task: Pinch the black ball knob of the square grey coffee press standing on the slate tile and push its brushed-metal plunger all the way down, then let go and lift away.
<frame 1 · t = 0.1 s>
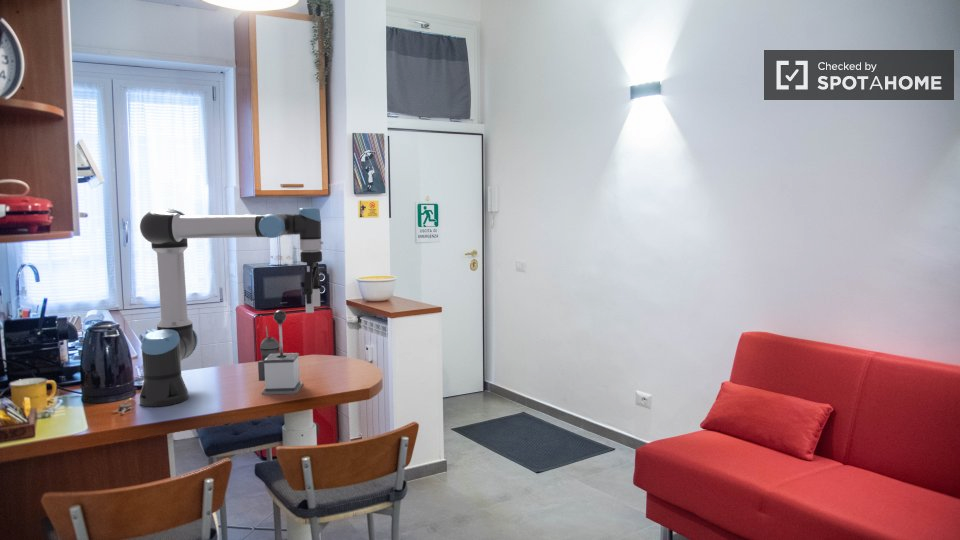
hand: (313, 309, 248), 28 cm above the table, fingers open, 13 cm apart
beverage cup: (271, 378, 262), on the table
press carafe: (283, 389, 246), on the table
plunger: (280, 337, 243), point 19 cm above the table, slide at 0.0 cm
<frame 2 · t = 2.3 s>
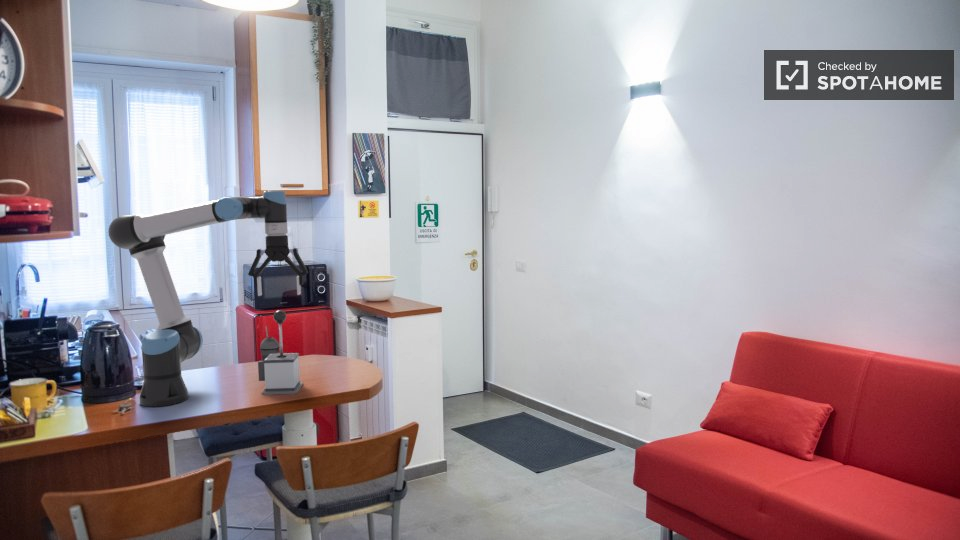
hand: (279, 295, 242), 34 cm above the table, fingers open, 13 cm apart
nothing on the table moved.
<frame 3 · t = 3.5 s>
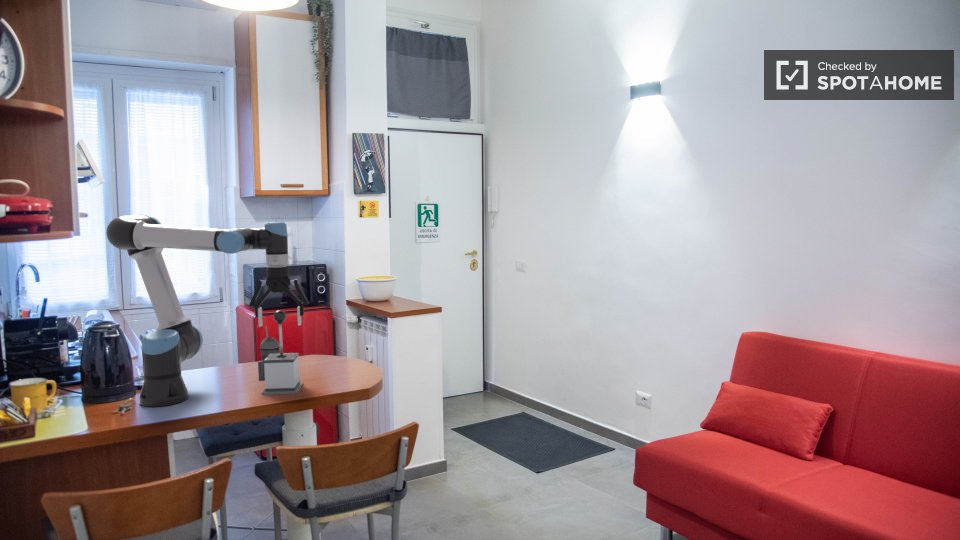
hand: (280, 325, 243), 23 cm above the table, fingers open, 13 cm apart
nothing on the table moved.
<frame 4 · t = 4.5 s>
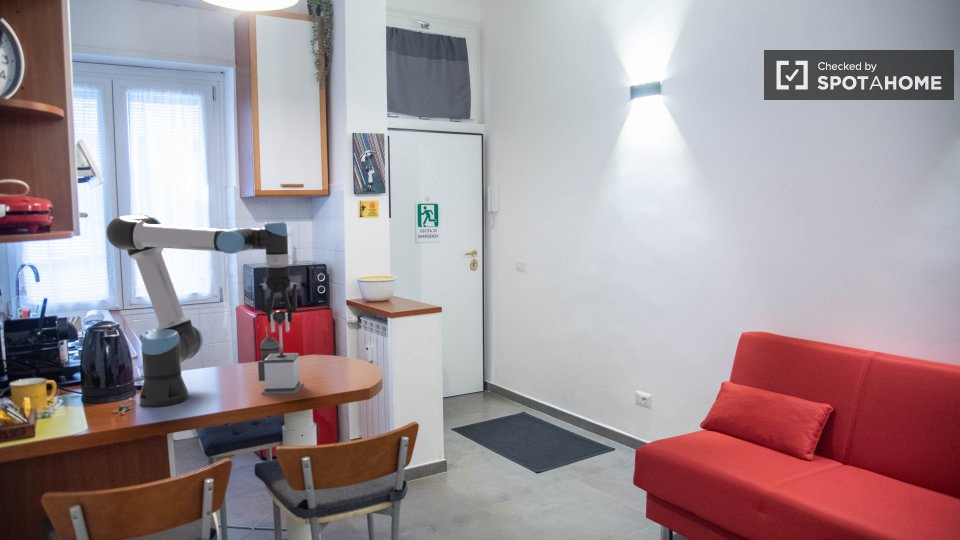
hand: (280, 331, 243), 21 cm above the table, fingers closed on plunger, 4 cm apart
plunger: (280, 337, 243), point 19 cm above the table, slide at 0.0 cm, touching gripper
everything else where it was.
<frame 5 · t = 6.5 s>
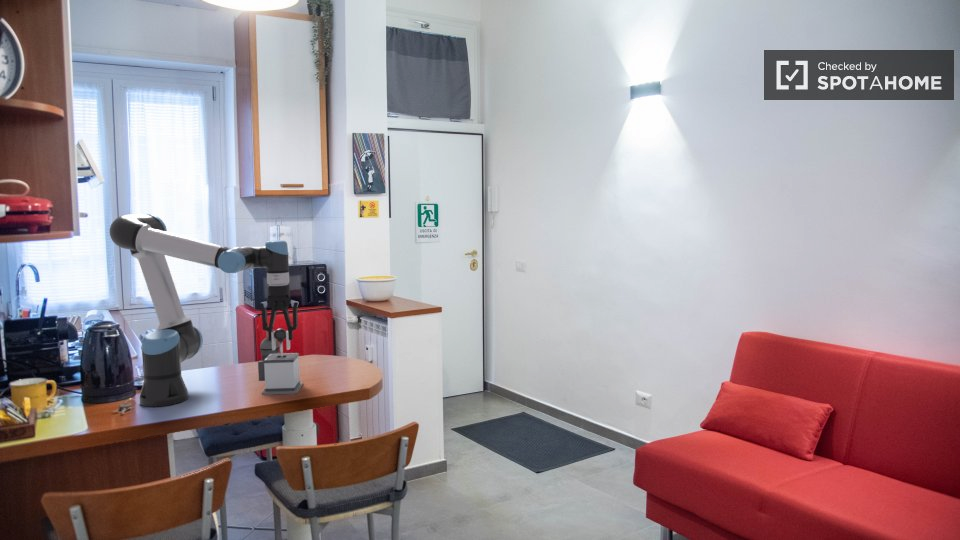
hand: (281, 349, 244), 15 cm above the table, fingers closed on plunger, 4 cm apart
plunger: (281, 355, 244), point 12 cm above the table, slide at 6.5 cm, touching gripper
everything else where it was.
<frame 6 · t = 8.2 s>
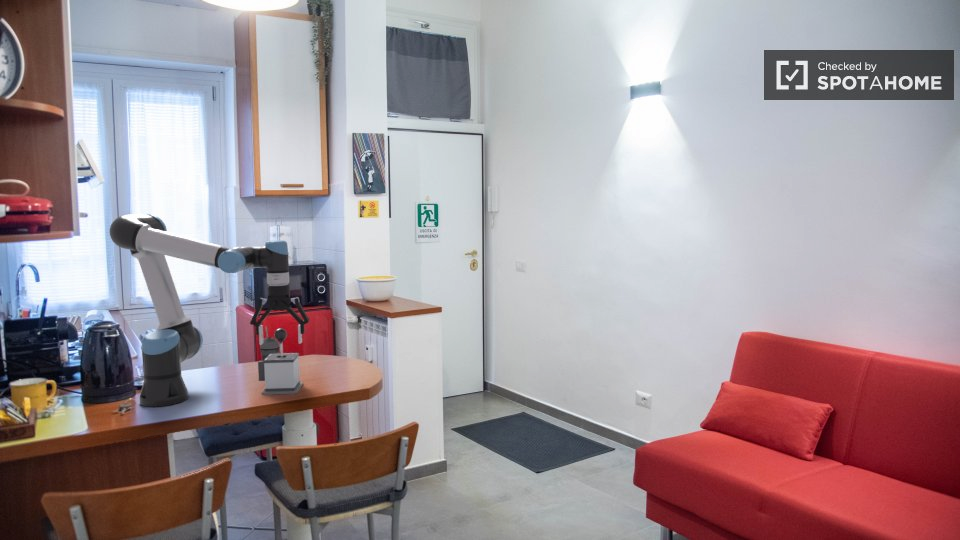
hand: (281, 343, 244), 17 cm above the table, fingers open, 13 cm apart
plunger: (281, 355, 244), point 12 cm above the table, slide at 6.5 cm
everything else where it was.
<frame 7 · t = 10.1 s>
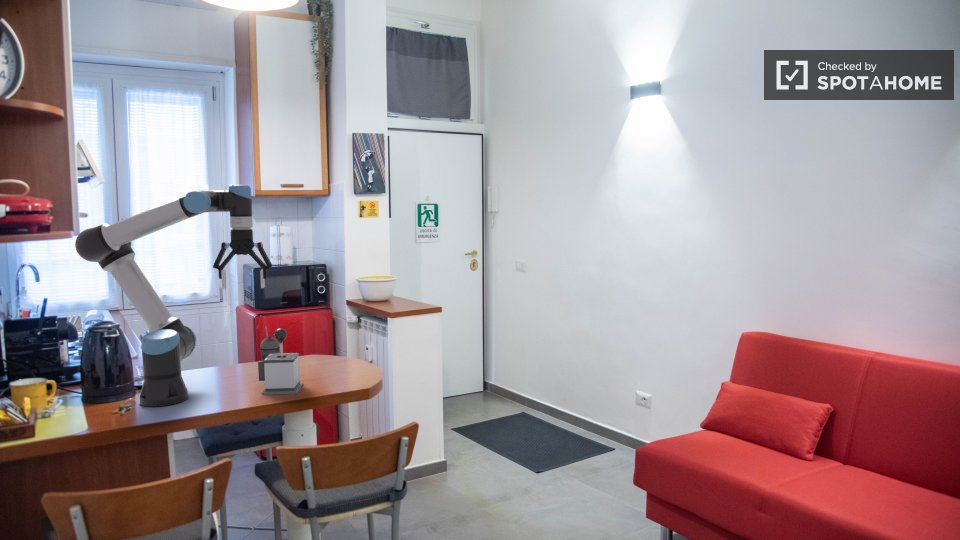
hand: (243, 288, 245), 36 cm above the table, fingers open, 13 cm apart
nothing on the table moved.
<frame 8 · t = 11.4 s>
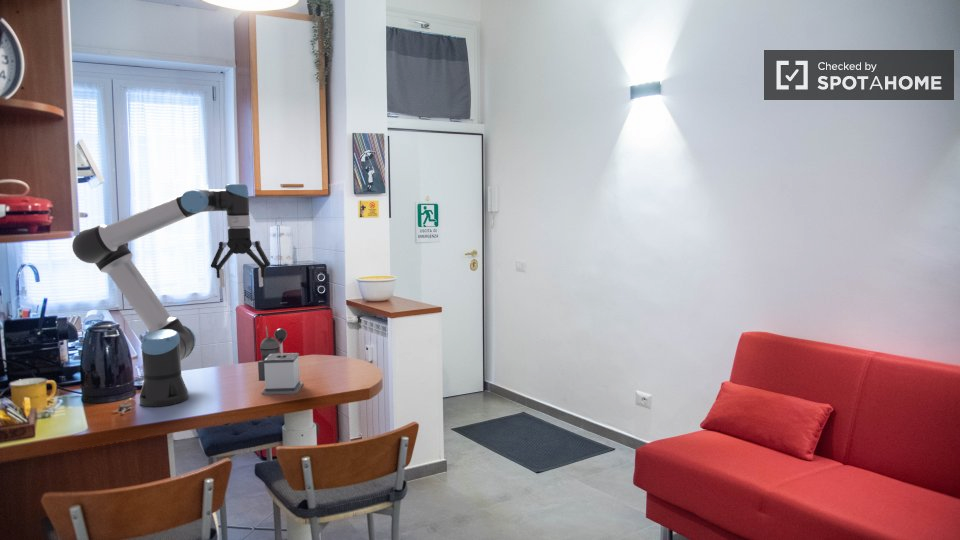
hand: (241, 286, 245), 37 cm above the table, fingers open, 13 cm apart
nothing on the table moved.
at the end: plunger slide at 6.5 cm; the gripper is holding nothing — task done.
